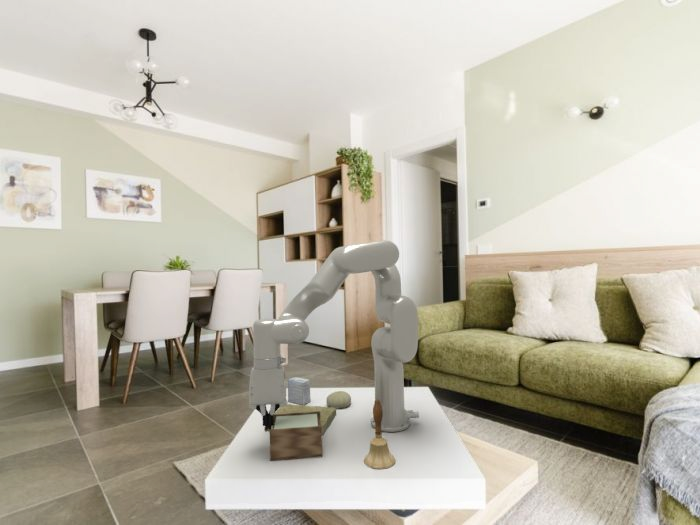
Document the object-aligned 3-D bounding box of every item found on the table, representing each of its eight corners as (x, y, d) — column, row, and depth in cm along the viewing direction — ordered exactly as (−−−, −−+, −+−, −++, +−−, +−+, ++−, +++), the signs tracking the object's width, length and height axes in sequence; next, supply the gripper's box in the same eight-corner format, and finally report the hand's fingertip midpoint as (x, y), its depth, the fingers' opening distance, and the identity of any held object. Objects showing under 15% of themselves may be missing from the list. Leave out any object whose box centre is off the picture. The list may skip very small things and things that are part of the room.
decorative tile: (283, 412, 134) (283, 402, 134) (336, 415, 129) (336, 405, 129) (260, 434, 115) (260, 423, 115) (322, 439, 111) (321, 427, 111)
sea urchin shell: (321, 398, 140) (334, 381, 142) (335, 410, 142) (348, 394, 144) (329, 406, 132) (343, 388, 134) (343, 419, 134) (357, 401, 136)
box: (320, 438, 111) (320, 411, 111) (322, 456, 100) (321, 426, 100) (273, 442, 109) (273, 414, 109) (270, 461, 98) (269, 430, 98)
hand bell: (362, 468, 94) (361, 405, 94) (365, 452, 102) (364, 394, 102) (395, 470, 92) (393, 406, 93) (395, 453, 101) (394, 395, 101)
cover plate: (317, 419, 110) (316, 413, 110) (318, 433, 101) (317, 426, 101) (276, 422, 108) (276, 416, 108) (273, 436, 99) (273, 430, 99)
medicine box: (310, 401, 142) (310, 379, 142) (303, 405, 138) (303, 382, 138) (295, 398, 146) (294, 376, 146) (287, 402, 142) (287, 379, 142)
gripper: (294, 358, 109) (295, 420, 108) (242, 361, 107) (243, 424, 106) (293, 364, 101) (294, 431, 101) (237, 367, 99) (238, 435, 99)
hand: (268, 427), depth 104 cm, fingers closed
